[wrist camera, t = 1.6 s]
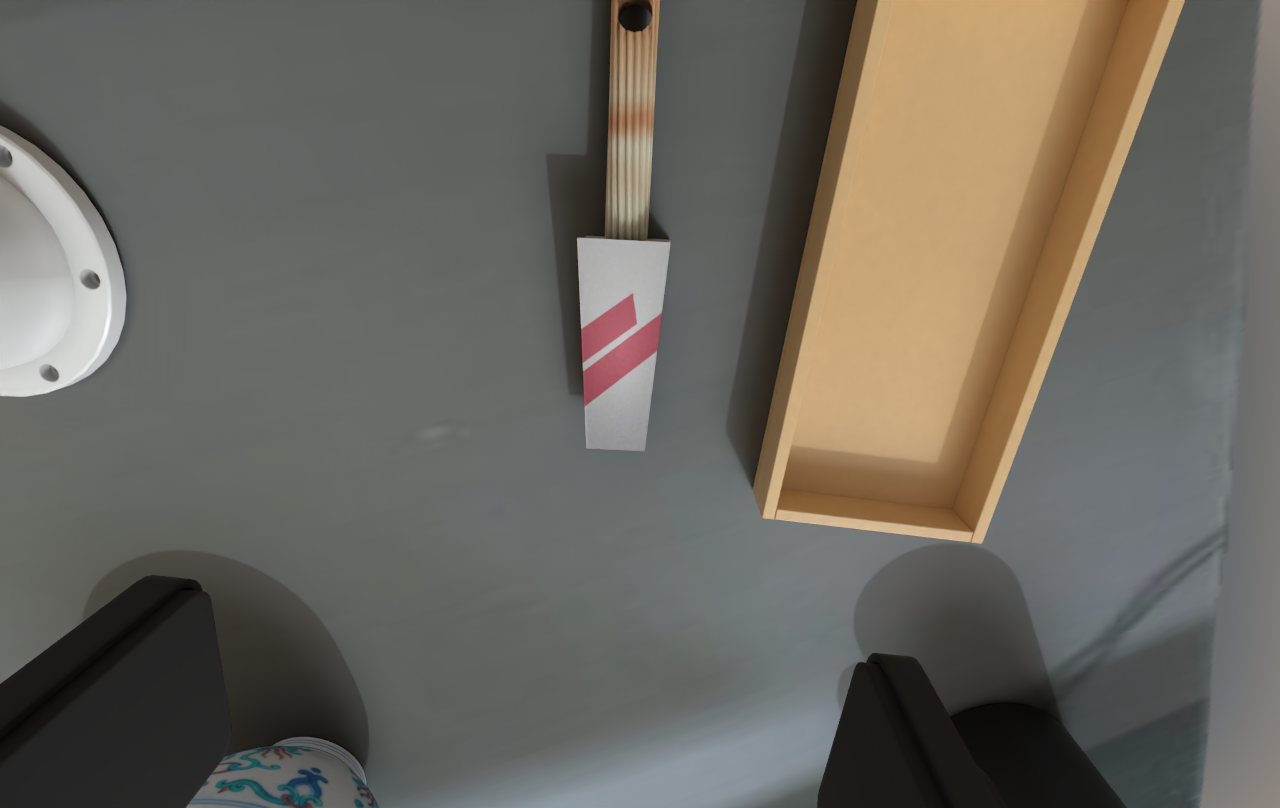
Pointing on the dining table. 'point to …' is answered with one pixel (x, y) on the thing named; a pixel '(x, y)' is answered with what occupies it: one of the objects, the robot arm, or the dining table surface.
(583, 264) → the folding fan
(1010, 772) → the mug
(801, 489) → the brush tray
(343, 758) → the chinaware
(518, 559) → the dining table surface
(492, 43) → the dining table surface
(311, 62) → the dining table surface
